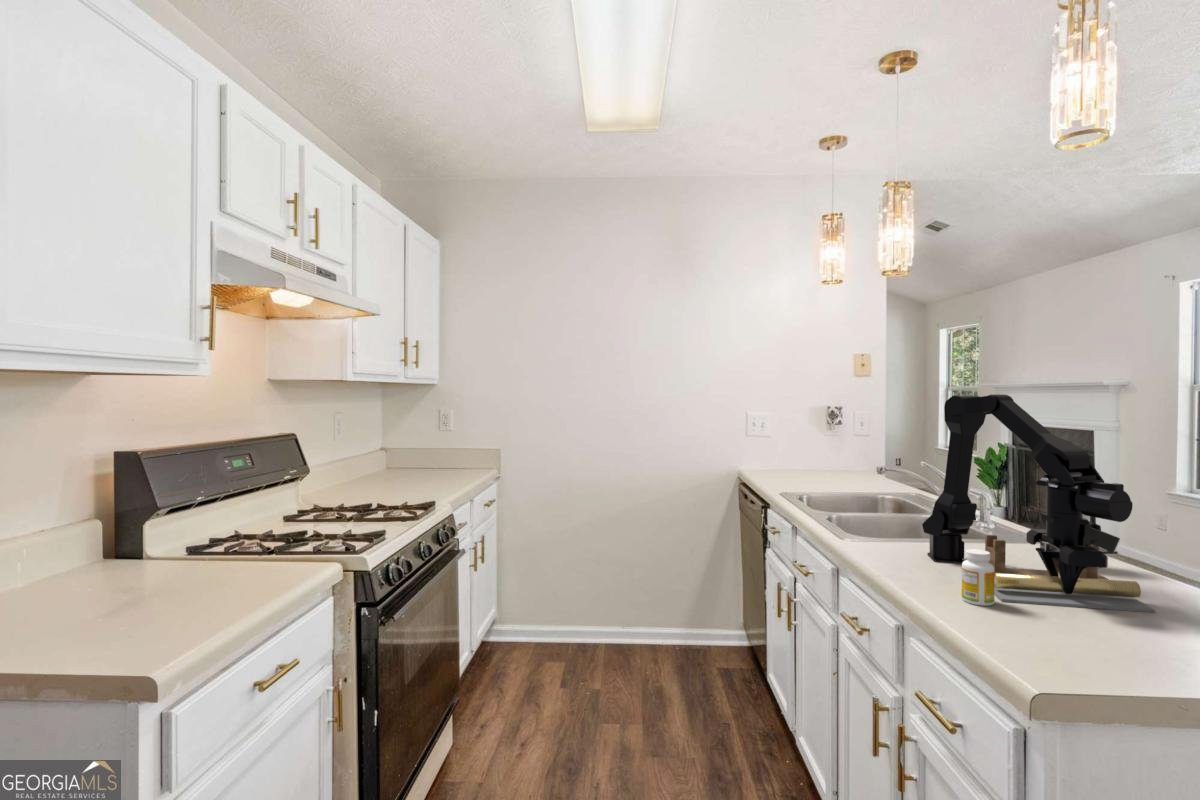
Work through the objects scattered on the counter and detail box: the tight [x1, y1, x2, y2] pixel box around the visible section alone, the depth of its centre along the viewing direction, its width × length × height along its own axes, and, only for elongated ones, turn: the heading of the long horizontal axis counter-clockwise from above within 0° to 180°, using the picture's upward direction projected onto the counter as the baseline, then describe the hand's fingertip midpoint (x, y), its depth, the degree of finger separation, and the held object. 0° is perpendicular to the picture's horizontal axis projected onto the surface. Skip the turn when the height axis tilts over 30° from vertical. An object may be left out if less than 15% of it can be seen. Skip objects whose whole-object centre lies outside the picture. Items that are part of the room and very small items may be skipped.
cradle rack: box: [984, 534, 1110, 580], centre depth 132 cm, size 25×7×8 cm, turn 76°
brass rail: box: [994, 573, 1142, 599], centre depth 120 cm, size 24×3×3 cm, turn 76°
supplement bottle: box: [961, 548, 995, 607], centre depth 118 cm, size 5×5×10 cm
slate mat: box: [994, 587, 1157, 613], centre depth 120 cm, size 25×10×1 cm, turn 76°
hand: (1063, 590), depth 120 cm, fingers open, 3 cm apart
